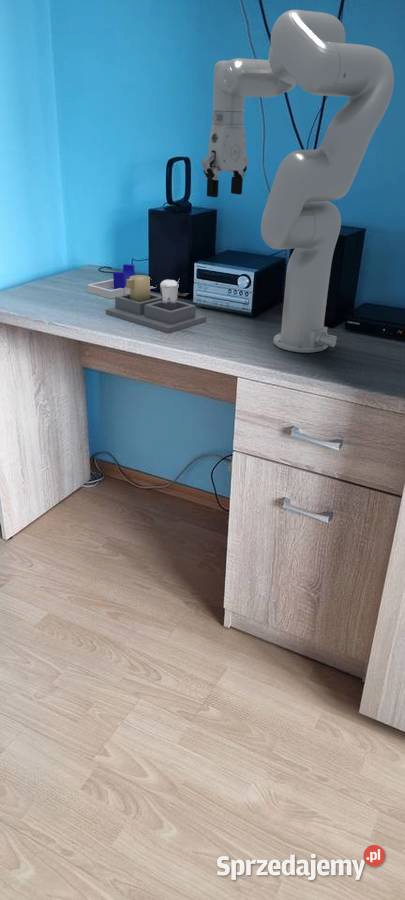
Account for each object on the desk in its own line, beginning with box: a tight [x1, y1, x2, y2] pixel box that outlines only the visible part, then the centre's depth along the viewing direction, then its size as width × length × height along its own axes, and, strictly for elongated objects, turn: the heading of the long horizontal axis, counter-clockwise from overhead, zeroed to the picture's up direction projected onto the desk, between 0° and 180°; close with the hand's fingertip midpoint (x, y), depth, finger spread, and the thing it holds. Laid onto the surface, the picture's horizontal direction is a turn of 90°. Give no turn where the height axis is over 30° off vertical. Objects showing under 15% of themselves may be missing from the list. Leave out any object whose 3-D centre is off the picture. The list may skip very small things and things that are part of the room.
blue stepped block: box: [112, 263, 136, 290], centre depth 191 cm, size 12×4×6 cm, turn 171°
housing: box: [105, 274, 207, 334], centre depth 167 cm, size 22×14×9 cm, turn 50°
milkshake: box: [159, 278, 180, 311], centre depth 163 cm, size 4×5×10 cm
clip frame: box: [86, 278, 157, 299], centre depth 192 cm, size 10×18×2 cm, turn 140°
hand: (224, 195), depth 168 cm, fingers open, 9 cm apart
